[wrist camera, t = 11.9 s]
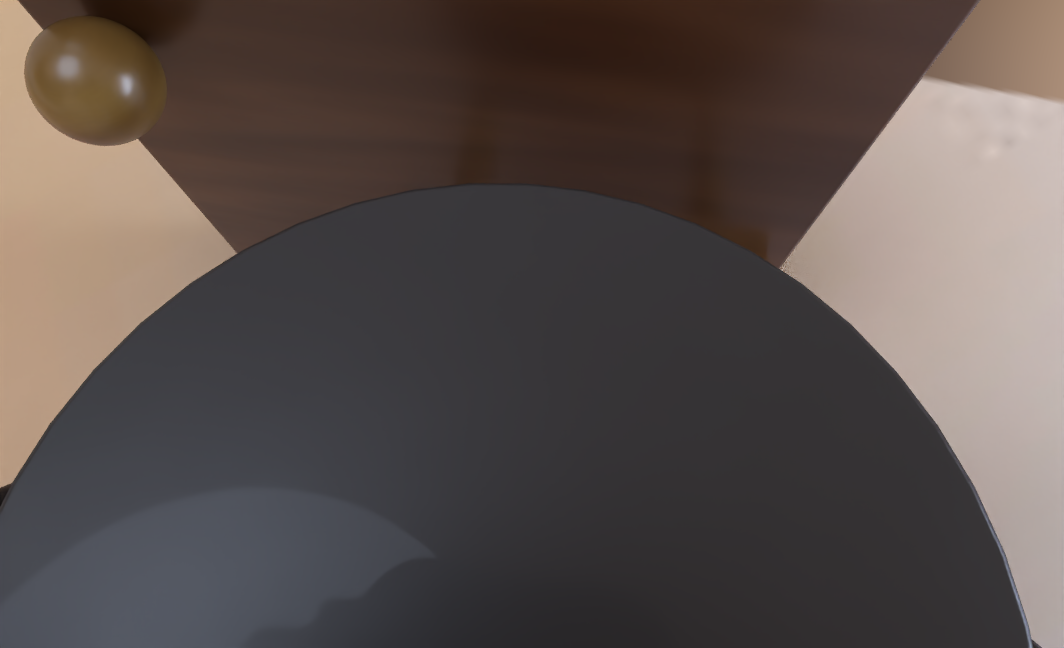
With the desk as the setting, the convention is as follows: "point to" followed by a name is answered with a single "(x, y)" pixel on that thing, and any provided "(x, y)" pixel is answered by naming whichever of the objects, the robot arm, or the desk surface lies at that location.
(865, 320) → the desk surface
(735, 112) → the hook rack
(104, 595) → the top hat
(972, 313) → the desk surface
